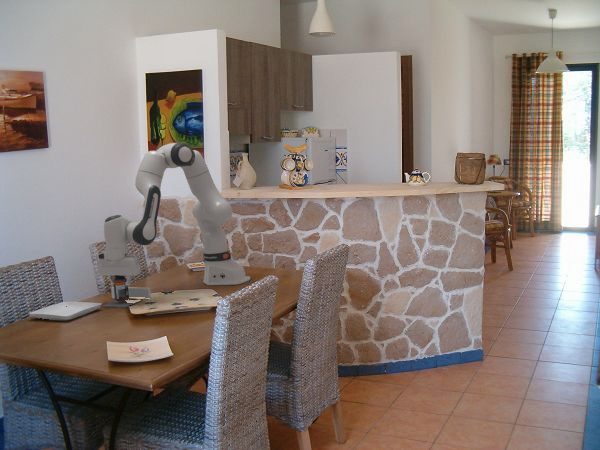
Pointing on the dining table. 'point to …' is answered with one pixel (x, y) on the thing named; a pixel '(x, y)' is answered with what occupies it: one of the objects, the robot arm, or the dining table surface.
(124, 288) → the supplement bottle
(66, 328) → the dining table surface
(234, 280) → the robot arm
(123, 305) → the rubber mat
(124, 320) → the dining table surface
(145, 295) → the acrylic wall
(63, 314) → the salad plate
